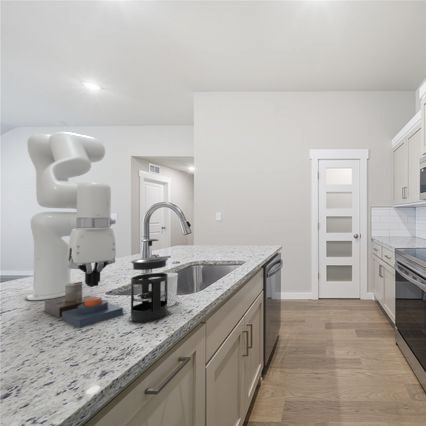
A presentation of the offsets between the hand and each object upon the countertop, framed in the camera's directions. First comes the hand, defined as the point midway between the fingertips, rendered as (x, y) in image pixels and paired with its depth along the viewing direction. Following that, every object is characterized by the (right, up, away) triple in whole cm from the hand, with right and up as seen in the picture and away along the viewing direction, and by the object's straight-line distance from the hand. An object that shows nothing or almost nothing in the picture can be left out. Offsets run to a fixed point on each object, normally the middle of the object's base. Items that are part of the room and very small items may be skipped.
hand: (92, 285), depth 75 cm
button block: (+1, -9, 0) cm, 9 cm away
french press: (+18, -9, -1) cm, 20 cm away
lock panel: (-12, -9, +6) cm, 16 cm away
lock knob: (-12, -6, +6) cm, 15 cm away
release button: (+1, -6, 0) cm, 6 cm away
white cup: (+15, -10, +10) cm, 20 cm away
